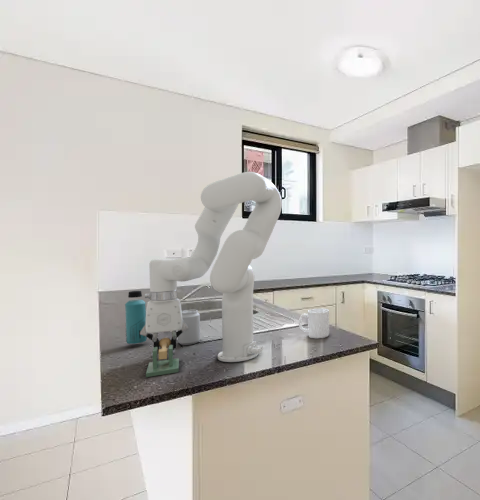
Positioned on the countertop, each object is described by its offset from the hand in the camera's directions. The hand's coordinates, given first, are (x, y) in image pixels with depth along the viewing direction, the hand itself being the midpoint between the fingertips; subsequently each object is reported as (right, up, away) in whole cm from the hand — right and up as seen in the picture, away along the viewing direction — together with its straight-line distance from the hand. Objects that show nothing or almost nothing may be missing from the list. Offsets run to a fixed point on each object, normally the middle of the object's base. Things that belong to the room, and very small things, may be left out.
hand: (165, 351), depth 116 cm
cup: (+44, -1, +25) cm, 51 cm away
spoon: (+3, +1, -5) cm, 6 cm away
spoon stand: (+6, -2, -10) cm, 12 cm away
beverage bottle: (-18, -2, +14) cm, 23 cm away
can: (-1, -2, +17) cm, 17 cm away
